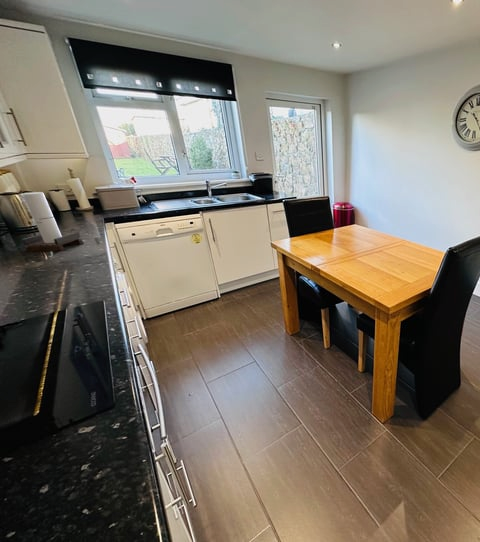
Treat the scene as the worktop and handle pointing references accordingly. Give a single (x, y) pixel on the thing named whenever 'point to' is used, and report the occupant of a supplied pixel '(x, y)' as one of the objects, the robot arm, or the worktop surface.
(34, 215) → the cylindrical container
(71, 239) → the rack
